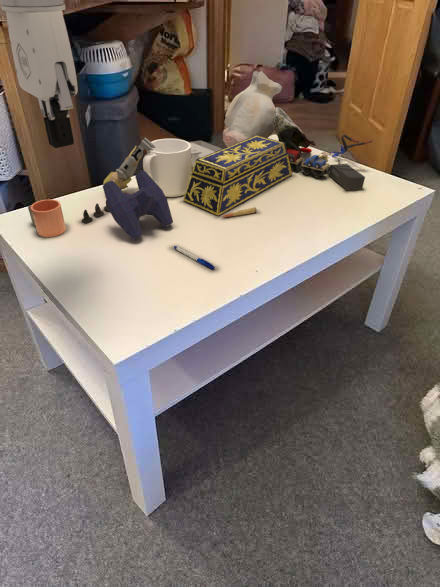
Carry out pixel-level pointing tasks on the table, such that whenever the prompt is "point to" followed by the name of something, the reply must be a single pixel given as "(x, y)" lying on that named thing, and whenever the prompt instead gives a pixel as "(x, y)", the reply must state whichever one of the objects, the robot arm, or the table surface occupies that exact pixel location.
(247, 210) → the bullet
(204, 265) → the ballpoint pen
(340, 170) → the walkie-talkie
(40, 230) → the cup
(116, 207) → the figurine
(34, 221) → the stop block
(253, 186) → the decorative box
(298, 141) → the rock
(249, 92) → the crumpled bag
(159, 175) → the mug
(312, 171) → the toy train
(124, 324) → the table surface
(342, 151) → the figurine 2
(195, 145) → the skate ramp
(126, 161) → the toy
